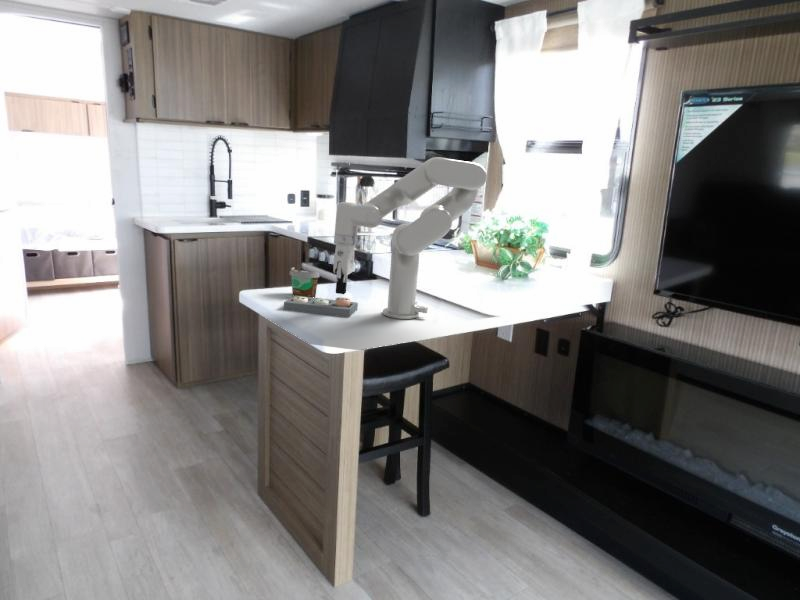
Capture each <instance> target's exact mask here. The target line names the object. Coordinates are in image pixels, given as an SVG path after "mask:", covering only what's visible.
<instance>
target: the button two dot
mask: <svg viewBox="0 0 800 600" xmlns="http://www.w3.org/2000/svg"><path fill="white" fill-rule="evenodd" d="M293 301H296V302H304V303H307V302H308V298H306V297H294V298H293Z"/></svg>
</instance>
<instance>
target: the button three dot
mask: <svg viewBox="0 0 800 600" xmlns="http://www.w3.org/2000/svg"><path fill="white" fill-rule="evenodd" d="M335 300H336V301H335V306H339V307H347V308H349V307H350V302H351V298H348V297H342V296H340V297H336V298H335Z"/></svg>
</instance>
